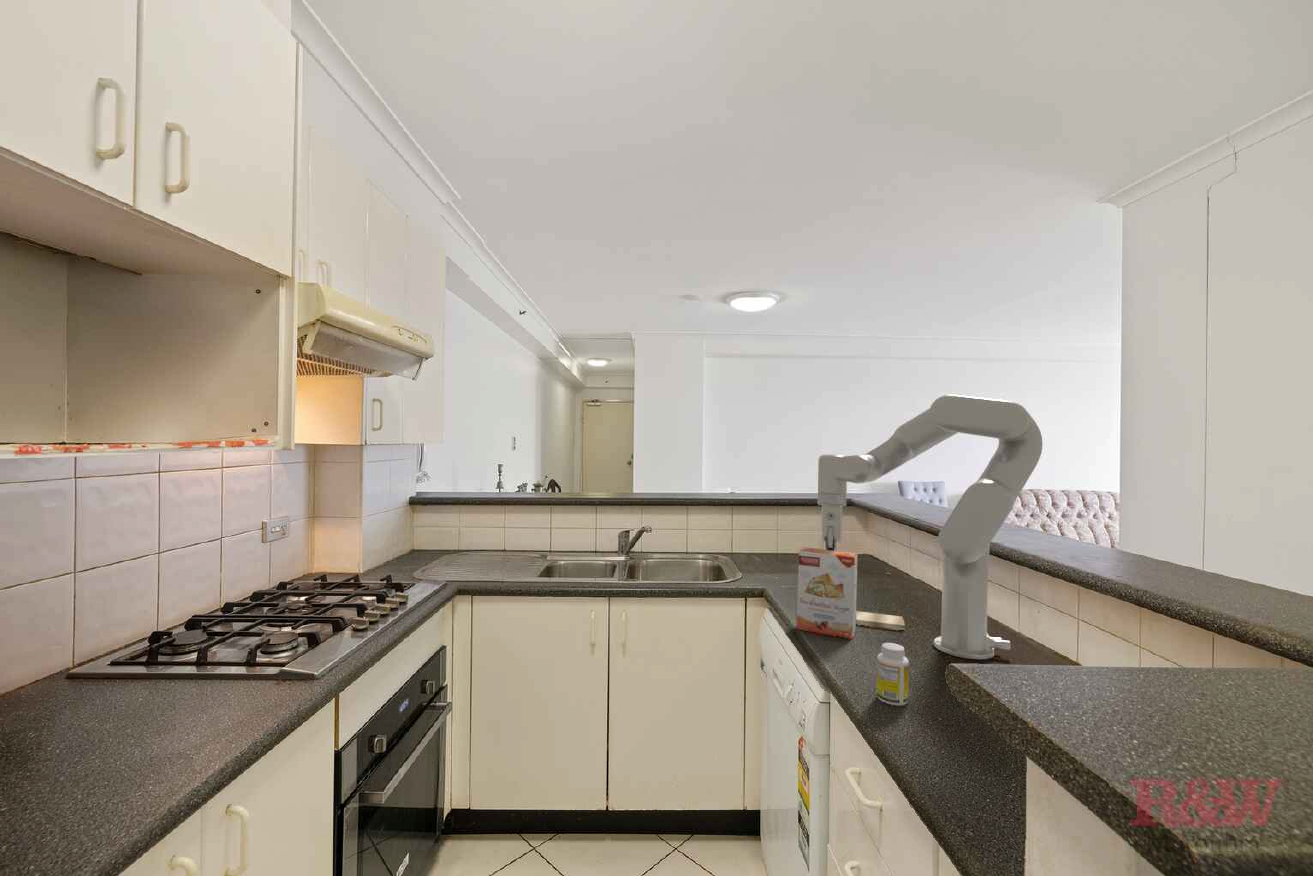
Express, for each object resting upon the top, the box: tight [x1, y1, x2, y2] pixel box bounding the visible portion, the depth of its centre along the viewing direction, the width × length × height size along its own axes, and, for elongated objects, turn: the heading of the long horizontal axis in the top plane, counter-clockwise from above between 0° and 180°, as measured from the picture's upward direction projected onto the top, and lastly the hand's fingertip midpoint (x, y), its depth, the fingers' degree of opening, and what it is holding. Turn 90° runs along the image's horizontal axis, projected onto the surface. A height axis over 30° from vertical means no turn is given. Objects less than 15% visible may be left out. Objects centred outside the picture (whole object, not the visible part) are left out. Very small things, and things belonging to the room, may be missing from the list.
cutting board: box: [856, 610, 906, 632], centre depth 150 cm, size 12×8×2 cm, turn 71°
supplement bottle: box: [876, 642, 910, 707], centre depth 105 cm, size 6×6×10 cm
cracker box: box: [796, 546, 859, 640], centre depth 142 cm, size 14×6×21 cm, turn 62°
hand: (830, 566), depth 151 cm, fingers closed
